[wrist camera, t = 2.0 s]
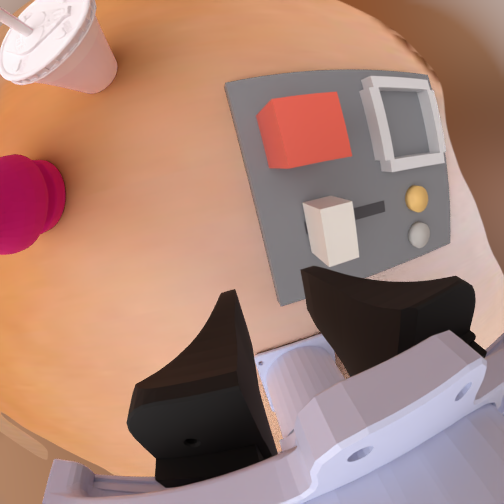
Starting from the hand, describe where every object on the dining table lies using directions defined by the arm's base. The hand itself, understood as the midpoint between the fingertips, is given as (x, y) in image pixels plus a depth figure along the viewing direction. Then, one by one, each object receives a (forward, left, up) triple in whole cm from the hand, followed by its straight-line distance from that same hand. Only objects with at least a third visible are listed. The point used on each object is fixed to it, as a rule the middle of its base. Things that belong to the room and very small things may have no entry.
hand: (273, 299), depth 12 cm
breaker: (0, -6, -9) cm, 11 cm away
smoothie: (+17, +8, -11) cm, 21 cm away
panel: (+3, -12, -10) cm, 16 cm away
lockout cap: (+7, -5, -9) cm, 12 cm away
